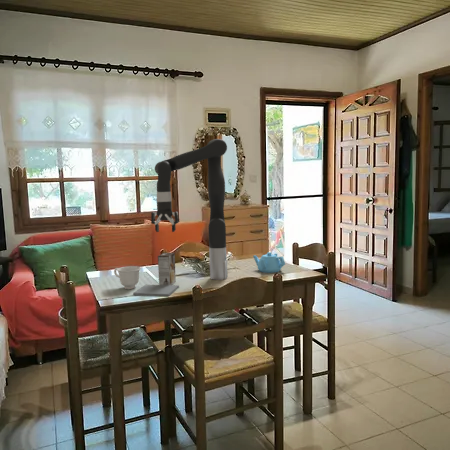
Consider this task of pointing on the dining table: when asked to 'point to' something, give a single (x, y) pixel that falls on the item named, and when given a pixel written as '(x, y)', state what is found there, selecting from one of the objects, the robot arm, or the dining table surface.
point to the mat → (156, 290)
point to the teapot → (269, 263)
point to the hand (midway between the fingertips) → (165, 231)
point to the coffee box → (166, 269)
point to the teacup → (128, 276)
